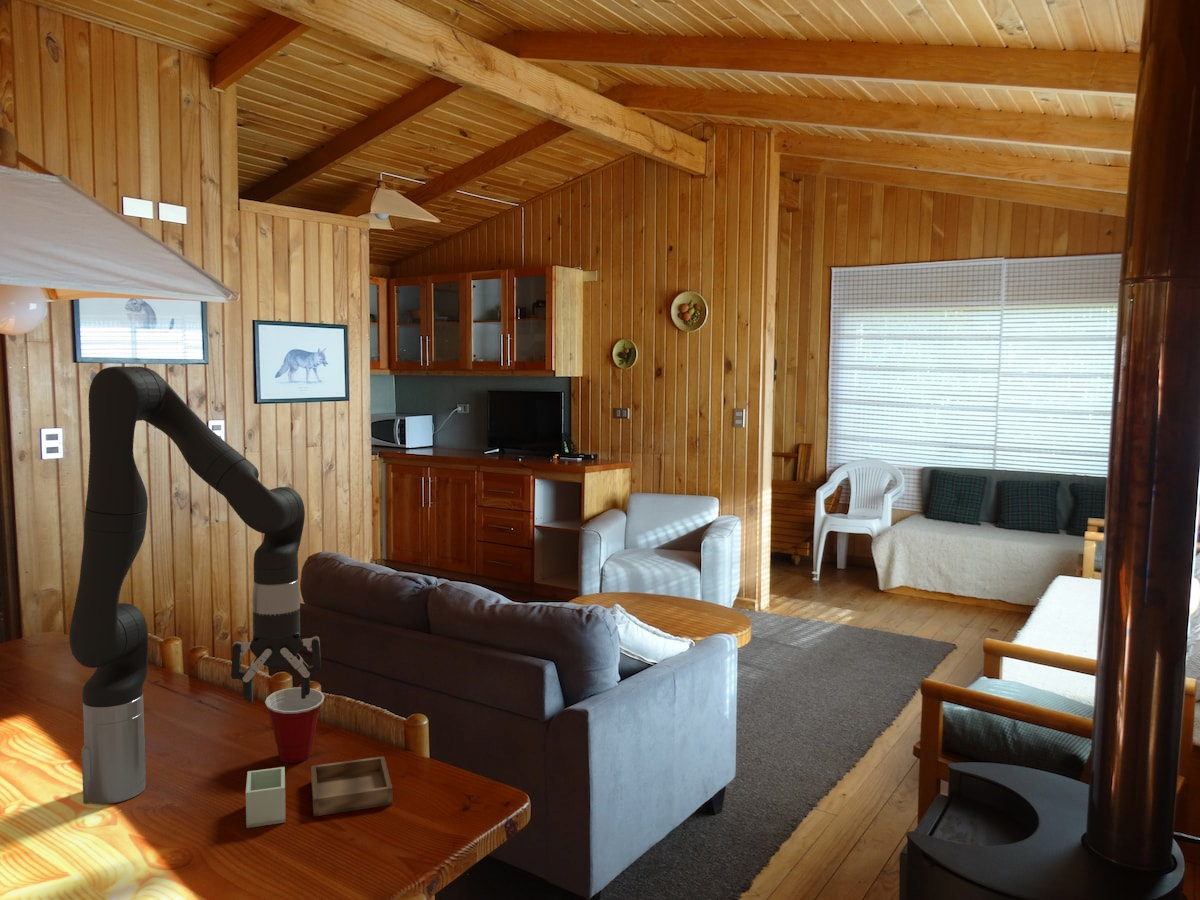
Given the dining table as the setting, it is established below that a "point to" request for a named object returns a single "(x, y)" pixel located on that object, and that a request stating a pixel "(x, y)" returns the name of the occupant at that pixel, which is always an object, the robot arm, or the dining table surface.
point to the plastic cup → (294, 722)
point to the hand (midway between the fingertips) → (277, 699)
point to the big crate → (350, 786)
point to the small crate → (265, 797)
